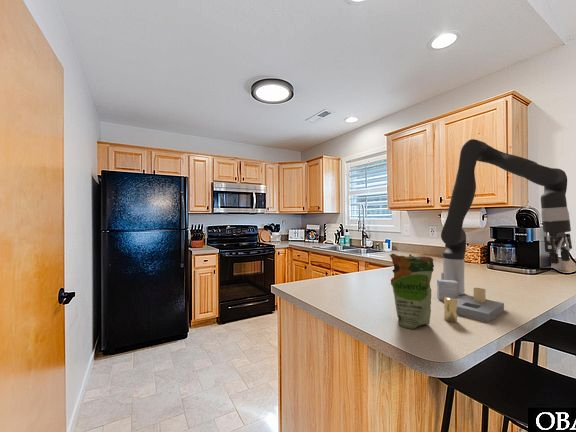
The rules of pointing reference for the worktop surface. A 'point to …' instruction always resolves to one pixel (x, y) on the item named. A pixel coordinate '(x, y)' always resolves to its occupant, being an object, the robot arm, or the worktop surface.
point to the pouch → (412, 289)
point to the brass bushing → (450, 309)
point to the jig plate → (479, 306)
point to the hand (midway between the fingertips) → (560, 262)
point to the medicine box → (447, 289)
